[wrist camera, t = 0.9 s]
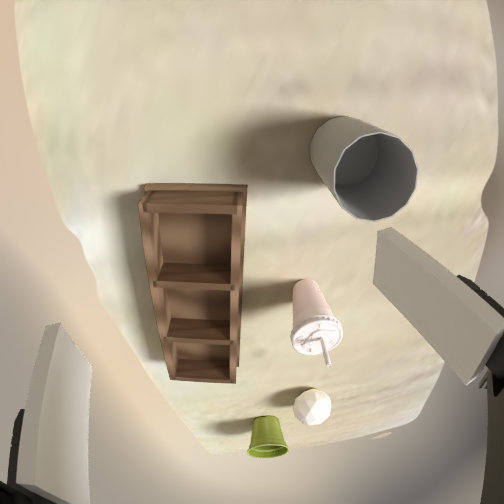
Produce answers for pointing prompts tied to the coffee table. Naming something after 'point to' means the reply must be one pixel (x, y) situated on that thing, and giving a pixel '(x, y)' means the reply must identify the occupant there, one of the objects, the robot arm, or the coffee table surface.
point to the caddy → (196, 275)
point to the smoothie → (313, 321)
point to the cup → (364, 167)
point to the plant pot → (267, 438)
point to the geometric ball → (312, 407)
